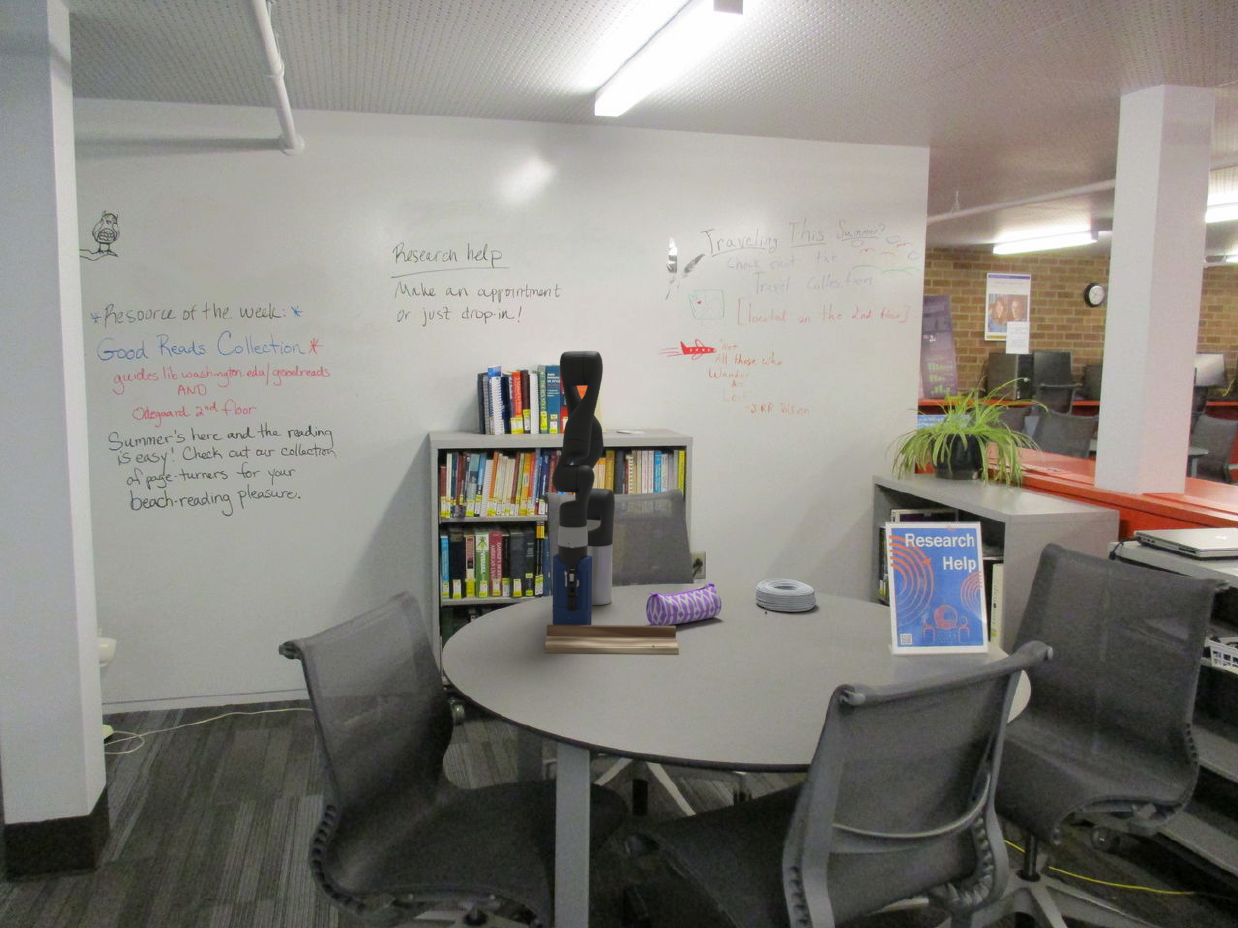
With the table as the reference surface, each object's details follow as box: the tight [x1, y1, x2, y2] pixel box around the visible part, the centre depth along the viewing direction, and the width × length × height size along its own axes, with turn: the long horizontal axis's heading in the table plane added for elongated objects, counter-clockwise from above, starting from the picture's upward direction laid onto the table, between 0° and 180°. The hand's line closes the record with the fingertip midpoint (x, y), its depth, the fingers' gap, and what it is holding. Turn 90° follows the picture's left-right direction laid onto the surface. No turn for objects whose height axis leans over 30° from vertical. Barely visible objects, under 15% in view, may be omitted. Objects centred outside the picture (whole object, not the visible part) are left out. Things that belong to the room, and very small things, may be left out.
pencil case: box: [645, 582, 722, 626], centre depth 236 cm, size 22×9×10 cm, turn 128°
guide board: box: [544, 624, 680, 655], centre depth 213 cm, size 10×32×4 cm, turn 91°
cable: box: [754, 577, 817, 613], centre depth 254 cm, size 18×18×6 cm
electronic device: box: [552, 552, 593, 625], centre depth 224 cm, size 10×5×20 cm, turn 74°
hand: (572, 606), depth 224 cm, fingers closed on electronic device, 6 cm apart
